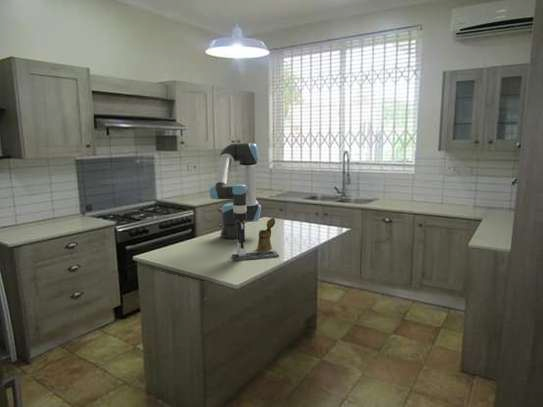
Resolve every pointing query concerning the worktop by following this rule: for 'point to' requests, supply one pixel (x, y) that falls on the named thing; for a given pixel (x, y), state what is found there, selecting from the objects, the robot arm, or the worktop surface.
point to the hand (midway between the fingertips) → (241, 252)
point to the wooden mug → (266, 236)
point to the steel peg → (239, 251)
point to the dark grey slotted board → (249, 256)
